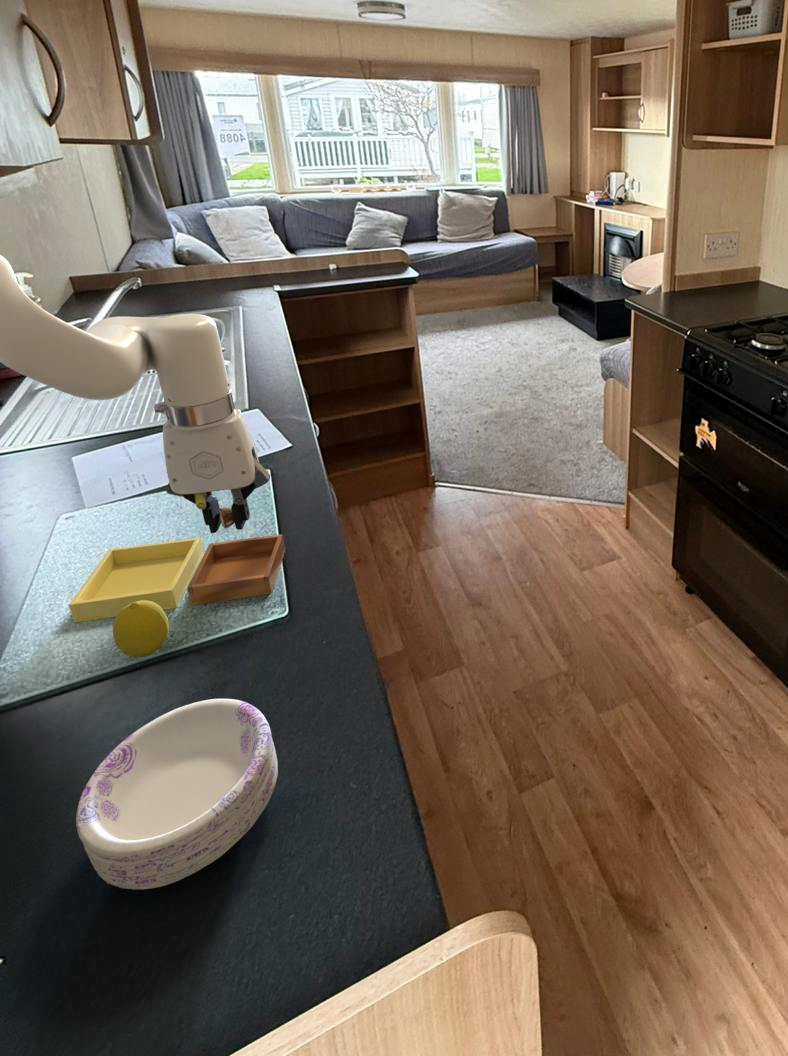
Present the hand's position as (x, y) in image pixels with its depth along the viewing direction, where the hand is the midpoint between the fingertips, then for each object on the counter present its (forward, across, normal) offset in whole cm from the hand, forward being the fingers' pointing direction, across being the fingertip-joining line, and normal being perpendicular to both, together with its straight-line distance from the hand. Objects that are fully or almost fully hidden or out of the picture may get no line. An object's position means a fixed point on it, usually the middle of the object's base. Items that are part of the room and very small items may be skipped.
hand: (229, 524), depth 92 cm
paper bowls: (+9, +5, -38) cm, 39 cm away
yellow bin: (+9, -13, +1) cm, 16 cm away
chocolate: (0, 0, 0) cm, 0 cm away
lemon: (+9, -7, -13) cm, 18 cm away
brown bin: (+9, 0, 0) cm, 9 cm away
